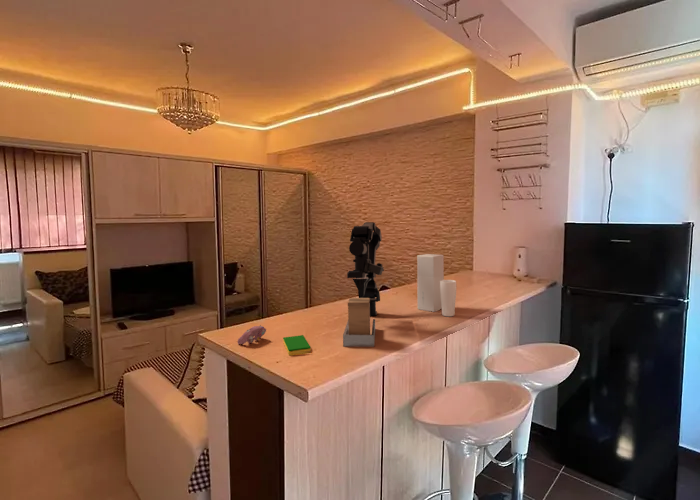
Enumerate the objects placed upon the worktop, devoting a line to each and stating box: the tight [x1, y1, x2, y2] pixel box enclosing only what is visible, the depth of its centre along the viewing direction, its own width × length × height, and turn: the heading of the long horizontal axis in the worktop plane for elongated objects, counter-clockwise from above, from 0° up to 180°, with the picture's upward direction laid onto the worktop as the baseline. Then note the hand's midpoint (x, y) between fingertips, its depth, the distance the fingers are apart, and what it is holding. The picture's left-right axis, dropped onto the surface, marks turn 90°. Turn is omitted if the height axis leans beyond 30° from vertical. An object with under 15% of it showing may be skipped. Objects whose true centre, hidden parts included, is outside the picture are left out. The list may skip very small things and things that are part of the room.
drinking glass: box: [440, 279, 457, 318], centre depth 167 cm, size 7×7×15 cm
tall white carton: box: [416, 253, 445, 313], centre depth 179 cm, size 9×9×25 cm
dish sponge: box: [282, 334, 312, 356], centre depth 131 cm, size 7×14×2 cm, turn 17°
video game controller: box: [237, 324, 267, 345], centre depth 138 cm, size 10×5×7 cm, turn 150°
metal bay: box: [342, 318, 376, 348], centre depth 138 cm, size 20×10×5 cm, turn 175°
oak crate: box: [347, 297, 371, 335], centre depth 134 cm, size 7×7×14 cm
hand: (362, 296), depth 154 cm, fingers closed
